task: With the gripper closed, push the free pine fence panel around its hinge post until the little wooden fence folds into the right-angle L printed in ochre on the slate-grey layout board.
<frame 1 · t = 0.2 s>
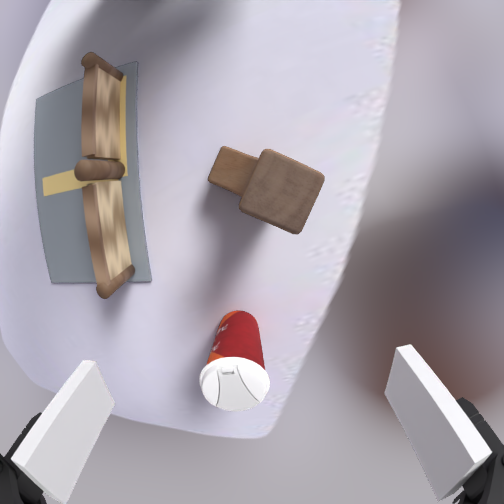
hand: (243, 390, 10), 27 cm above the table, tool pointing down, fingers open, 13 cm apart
fence fixed: (119, 170, 34), resting on layout card
wooden block: (251, 177, 35), on the table
paper cup: (239, 326, 40), on the table
fence gate: (109, 235, 31), point 5 cm above the table, hinge at 0.0°
layout card: (80, 178, 34), on the table
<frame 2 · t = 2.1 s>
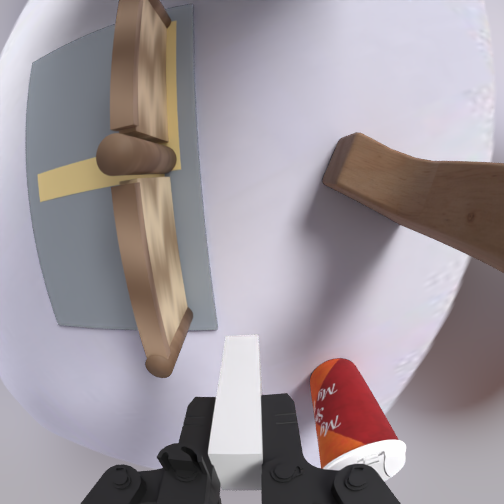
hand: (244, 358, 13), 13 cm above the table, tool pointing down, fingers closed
fence fixed: (165, 160, 22), resting on layout card
wooden block: (371, 182, 23), on the table
paper cup: (333, 376, 28), on the table
fence gate: (158, 271, 20), point 5 cm above the table, hinge at 0.0°
layout card: (97, 173, 22), on the table
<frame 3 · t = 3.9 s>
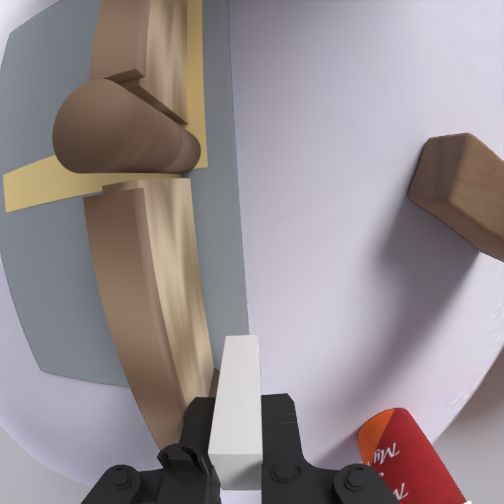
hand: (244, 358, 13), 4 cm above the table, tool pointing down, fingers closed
fence fixed: (181, 153, 14), resting on layout card
wooden block: (457, 198, 15), on the table
paper cup: (382, 425, 20), on the table
fence gate: (176, 336, 12), point 5 cm above the table, hinge at 0.0°, touching gripper
layout card: (79, 172, 14), on the table
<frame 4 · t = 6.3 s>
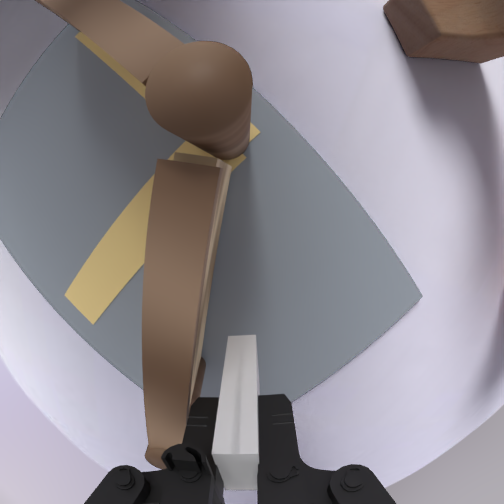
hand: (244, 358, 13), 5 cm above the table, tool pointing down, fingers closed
fence fixed: (227, 139, 14), resting on layout card
wooden block: (435, 36, 12), on the table
fence gate: (186, 320, 12), point 5 cm above the table, hinge at -54.9°, touching gripper
layout card: (143, 227, 15), on the table
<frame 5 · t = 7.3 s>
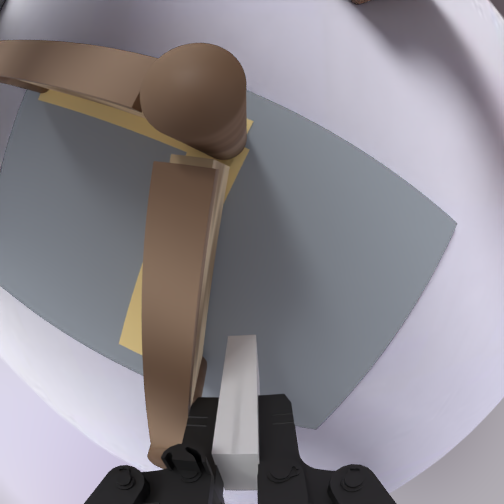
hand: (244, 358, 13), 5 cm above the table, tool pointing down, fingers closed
fence fixed: (224, 139, 14), resting on layout card
fence gate: (186, 320, 12), point 5 cm above the table, hinge at -74.5°, touching gripper
layout card: (174, 251, 16), on the table
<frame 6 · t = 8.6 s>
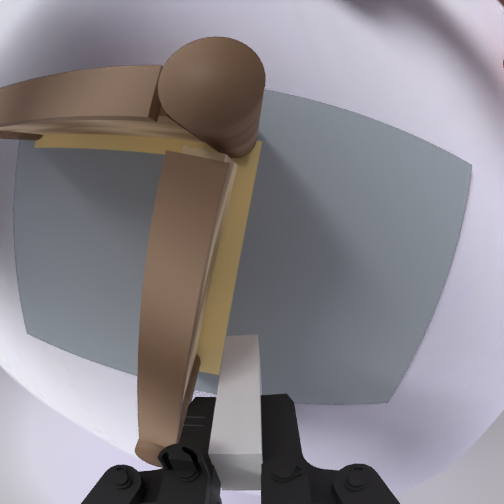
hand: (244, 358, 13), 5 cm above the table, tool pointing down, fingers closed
fence fixed: (234, 138, 14), resting on layout card
fence gate: (184, 316, 12), point 5 cm above the table, hinge at -93.3°
layout card: (213, 259, 16), on the table
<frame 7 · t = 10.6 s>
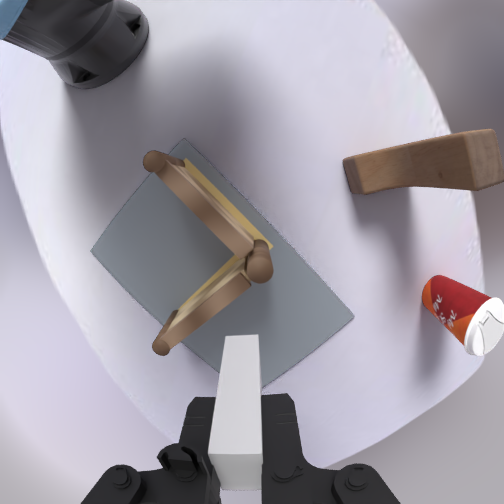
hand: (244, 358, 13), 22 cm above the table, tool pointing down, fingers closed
fence fixed: (258, 247, 34), resting on layout card
wooden block: (376, 169, 32), on the table
paper cup: (435, 291, 36), on the table
fence gate: (203, 304, 31), point 5 cm above the table, hinge at -93.3°
layout card: (218, 285, 35), on the table
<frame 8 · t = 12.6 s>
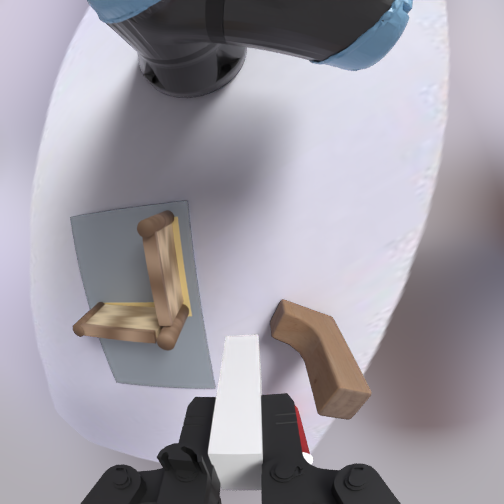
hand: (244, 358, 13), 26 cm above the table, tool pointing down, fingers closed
fence fixed: (182, 309, 41), resting on layout card
wooden block: (301, 319, 42), on the table
paper cup: (283, 411, 47), on the table
fence gate: (121, 321, 36), point 5 cm above the table, hinge at -93.3°
layout card: (141, 309, 41), on the table
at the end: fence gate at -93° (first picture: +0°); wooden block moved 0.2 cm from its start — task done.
